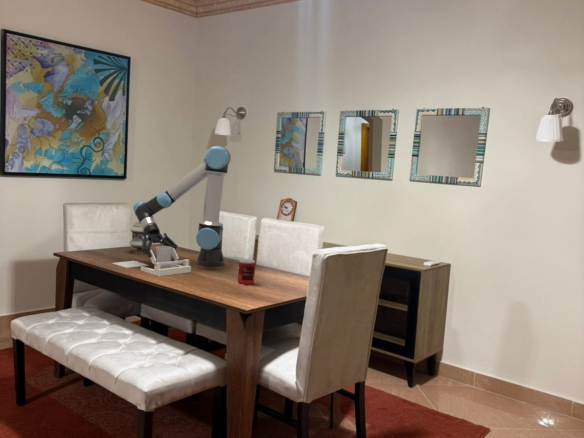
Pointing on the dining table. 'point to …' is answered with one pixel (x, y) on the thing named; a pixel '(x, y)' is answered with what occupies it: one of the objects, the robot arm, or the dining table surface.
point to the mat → (130, 264)
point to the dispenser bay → (169, 271)
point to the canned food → (246, 271)
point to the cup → (164, 255)
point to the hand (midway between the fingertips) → (166, 261)
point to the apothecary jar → (137, 238)
